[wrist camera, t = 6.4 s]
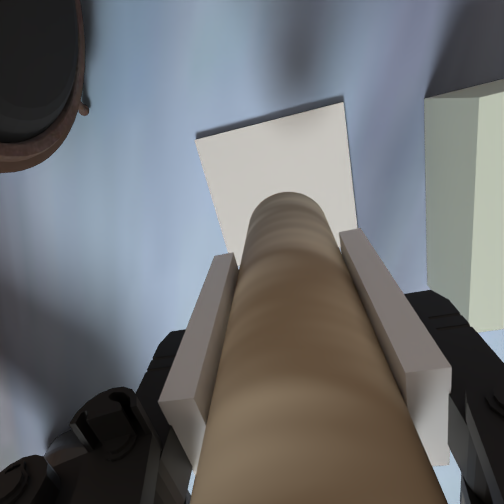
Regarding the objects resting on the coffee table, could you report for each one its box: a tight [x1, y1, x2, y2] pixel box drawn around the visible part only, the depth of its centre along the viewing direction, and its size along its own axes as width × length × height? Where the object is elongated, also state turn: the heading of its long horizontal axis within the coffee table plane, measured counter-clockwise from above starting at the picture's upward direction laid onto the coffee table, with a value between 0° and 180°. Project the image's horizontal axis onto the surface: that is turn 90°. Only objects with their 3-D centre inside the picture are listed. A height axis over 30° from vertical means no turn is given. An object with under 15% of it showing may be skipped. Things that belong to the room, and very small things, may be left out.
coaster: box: [195, 102, 357, 266], centre depth 23 cm, size 10×10×1 cm
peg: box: [190, 192, 448, 504], centre depth 10 cm, size 4×4×14 cm
